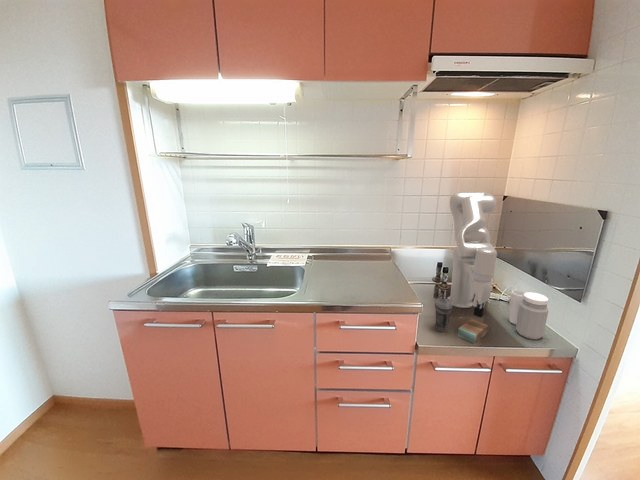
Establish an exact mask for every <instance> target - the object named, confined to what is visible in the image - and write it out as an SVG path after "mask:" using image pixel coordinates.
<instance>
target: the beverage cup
mask: <svg viewBox="0 0 640 480" xmlns="http://www.w3.org/2000/svg"><path fill="white" fill-rule="evenodd" d="M446 295H447V289H444V294H443V296H441V297H439V298H437V299H436V301H435V303H434V308H435V328H436V330H437V331H438V332H440V333H441V332H442V333H444V332H447V331H448V326H449V321H450V317H451V313H452V310H453V307H454V306H452V303H451V301H450V300H449V299H448V297H446Z"/></svg>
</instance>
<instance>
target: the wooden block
mask: <svg viewBox="0 0 640 480" xmlns="http://www.w3.org/2000/svg"><path fill="white" fill-rule="evenodd" d="M488 329H489V324H485V323H484V322H482V321H479V320H476V319H473V318H471V319H469V320H468V321H466V322H465V323H463V325H460V327H458V331H457V337H459V338H461V339H463V340H466V341H467V342H469V343H472V344H476V343H477V342H478V341H479V340H481V339H482V338H483V337H485V336H486V335H487V334H488Z"/></svg>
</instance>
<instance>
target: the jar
mask: <svg viewBox="0 0 640 480" xmlns="http://www.w3.org/2000/svg"><path fill="white" fill-rule="evenodd" d="M525 292H526V293H524V295H523V301H522V302H520V306H519V312H518V318H517V324H515V330H516V332H517V333H518V334H519V335H520V336H521V337H524V338H526V339H531V340H539V339H541V338H543V337H544V336H545V335H544V334H545V329H546V325H547V319H548V315H549V308H548V302H549V298H548V297H547V296H546V295H544V294H542V293H538V292H533V291H532V292H530V291H528V292H527V291H525Z"/></svg>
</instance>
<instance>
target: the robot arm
mask: <svg viewBox="0 0 640 480" xmlns="http://www.w3.org/2000/svg"><path fill="white" fill-rule="evenodd" d="M449 208H450V209H449V210H450V212H451V215H452V217H453V221H454V222H453V223H454V224H453V226H454V240H455V241H456V247H455V248H454V249H453V250H452V274H451V275H452V276H451V284H450V285H451V287H450V295H449V296H448V297H447V298H448V299H449V300H450V301H451V303H452V307H455V308H459V309H460V308H462V309H469V308H472V307H473V315H474V316H475V317H479V318H483V316H484V311H485V310H484V309H485V307H486V306H485V305H486V302H487V301H489V299H490V298H491V293H492V283H494V278H495V277H494V276H495V269H496V264H497V257H498V251H497V250H496V249H495V247H494V245H492V243H491V236H490V235H491V233H490V231H489V229H488V228H487V227H485V225H486V219H485V214H487V213H488V214H489V213H494V211H496V208H497V199H496V198H495V196H494V195H492V194H490V193H488V192H485V191H464V192H463V191H462V192H461V191H460V192H455V193H453V194H452V195H451V196H450V198H449ZM469 266H473V271H472V269H471V267H469Z"/></svg>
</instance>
